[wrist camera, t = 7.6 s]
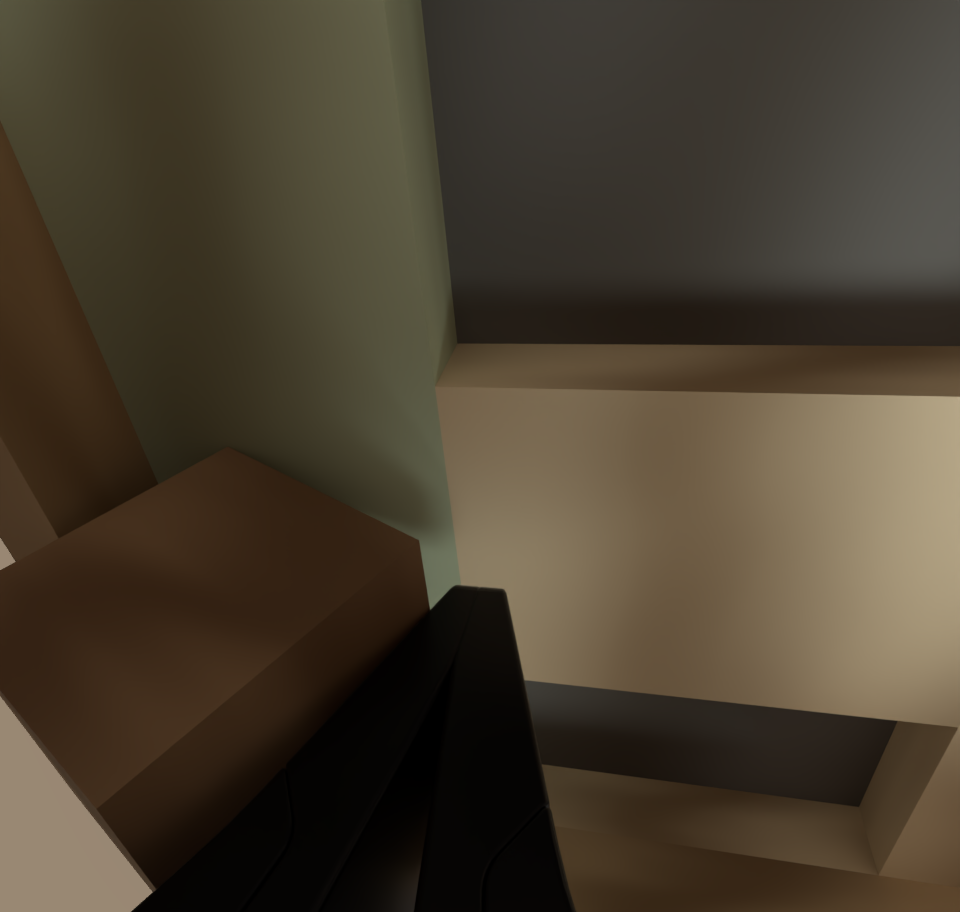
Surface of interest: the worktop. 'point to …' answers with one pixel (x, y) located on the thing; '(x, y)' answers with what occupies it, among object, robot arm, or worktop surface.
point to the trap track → (549, 373)
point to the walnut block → (198, 645)
